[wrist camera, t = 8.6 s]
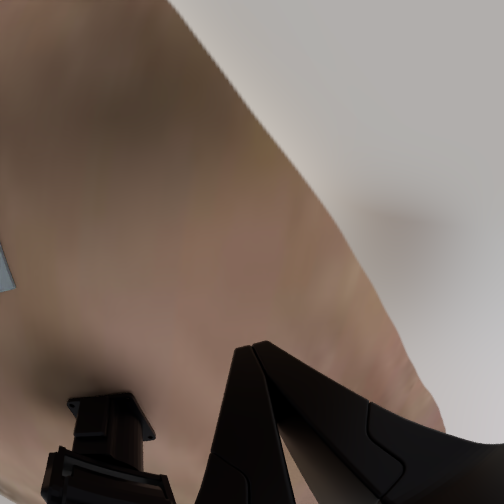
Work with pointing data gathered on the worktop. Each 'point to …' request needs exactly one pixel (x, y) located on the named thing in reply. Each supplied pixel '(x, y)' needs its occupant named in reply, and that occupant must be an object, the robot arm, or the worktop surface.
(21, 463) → the worktop surface
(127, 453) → the robot arm
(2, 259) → the mat
